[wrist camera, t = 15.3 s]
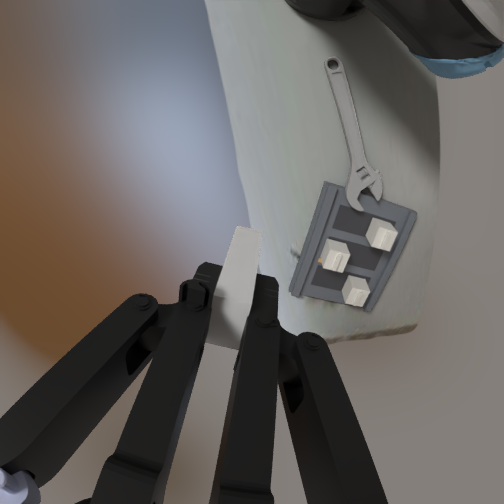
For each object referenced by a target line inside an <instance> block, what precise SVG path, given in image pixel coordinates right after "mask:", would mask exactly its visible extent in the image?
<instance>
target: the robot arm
mask: <svg viewBox="0 0 504 504" xmlns="http://www.w3.org/2000/svg"><path fill="white" fill-rule="evenodd" d="M285 1H286V2H287V3H288V4H289V5H291V6H292V7H293V8H294V9H296V10H297V11H299V12H301V13H303V14H305V15H307V16H310V17H313V18H316V19H321V20H328V21H338V20H345V19H348V18H351V17H354V16H356V15H357V14H359V13H360V12H361V11H363V10H364V8H365V7H367V8H368V9H369V10H370V11H371V12H372V13H373V14H375V15H376V16H377V17H378V18H379V19H380V20H381V21H382V22H383V23H384V24H385V25H386V26H387V27H388V28H390V29H391V30H392V31H393V32H394V33H395V34H396V35H397V36H398V37H399V39H400V40H401V41H402V42H403V43H404V44H405V45H406V46H407V47H408V49H409V51H410V52H411V53H412V54H413V55H414V56H415V57H417V58H418V59H419V60H420V61H421V62H422V63H423V64H424V65H425V66H426V67H427V68H428V69H429V70H430V71H431V72H432V73H434V74H435V75H437V76H440V77H443V78H451V79H454V78H463V77H469V76H473V75H476V74H479V73H482V72H484V71H485V69H486V68H487V67H493V66H495V65H496V64H498V63H499V62H500V61H501V60H502V58H504V0H285ZM262 234H263V231H259V230H254V229H250V228H246V227H242V226H237V228H236V230H235V233H234V236H233V239H232V242H231V245H230V248H229V251H228V254H227V256H226V260H225V262H224V265H223V266H220V265H216V264H212V263H208V262H204V263H203V264H201V265H200V266H199V267H198V269H197V271H196V274H195V275H194V277H193V279H191V280H187V281H184V282H183V283H182V284H181V285H180V290H179V302H177V303H174V304H158V302H157V300H156V298H154V297H153V296H151V295H148V294H135V295H133V296H131V297H129V298H128V299H127V300H126V301H125V302H124V303H122V304H121V305H120V306H119V307H118V308H116V309H115V310H114V311H113V312H112V313H111V314H110V315H109V316H108V317H106V318H105V319H104V320H103V321H102V322H101V323H100V324H98V325H97V326H96V327H95V328H94V329H93V330H92V331H91V332H90V333H89V334H88V335H86V336H85V337H84V338H83V339H82V340H81V341H80V342H79V343H77V344H76V345H75V346H74V347H73V348H72V349H71V350H70V351H69V352H68V353H67V354H66V355H65V356H63V357H62V358H61V359H60V360H59V361H58V362H57V363H56V364H55V365H54V366H53V367H52V368H51V369H50V370H49V371H48V372H47V373H45V375H43V376H42V377H41V378H40V379H39V380H38V381H37V382H36V383H35V384H34V385H33V386H32V387H31V388H30V389H29V390H28V391H27V392H26V393H25V394H24V395H23V396H22V397H21V398H20V399H19V400H18V401H17V402H16V403H15V404H14V405H13V406H12V407H11V408H10V409H9V410H8V411H7V412H6V413H5V414H4V415H3V416H2V418H0V504H39V503H40V502H41V496H40V491H39V489H38V488H40V487H42V486H43V485H44V484H46V483H47V482H48V481H50V480H51V479H52V478H53V477H54V476H55V475H56V474H57V473H58V472H59V471H60V470H61V468H62V467H63V466H64V465H65V463H66V462H67V461H68V459H70V457H71V456H72V455H73V454H74V452H75V451H76V450H77V449H78V447H79V446H80V445H81V444H82V443H83V441H84V440H85V439H86V438H87V437H88V435H89V434H90V433H91V432H92V430H93V429H94V428H95V427H96V426H97V424H98V423H99V422H100V421H101V420H102V418H103V417H104V416H105V415H106V413H107V412H108V411H109V410H110V409H111V407H112V406H113V405H114V404H115V403H116V401H117V400H118V399H119V398H120V397H121V395H122V394H123V393H124V392H125V391H126V389H127V388H128V387H129V386H130V385H131V383H132V382H133V381H134V380H135V379H136V377H137V376H138V375H139V374H140V373H141V371H142V370H143V369H144V368H145V367H146V365H147V364H148V363H149V362H150V361H151V359H152V358H153V359H152V362H151V364H150V367H149V369H148V371H147V374H146V376H145V378H144V380H143V383H142V385H141V388H140V390H139V392H138V395H137V397H136V400H135V402H134V405H133V407H132V410H131V412H130V414H129V417H128V420H127V422H126V424H125V427H124V430H123V432H122V435H121V437H120V440H119V442H118V445H117V448H116V450H115V452H114V454H113V455H111V456H109V457H108V458H107V460H106V461H105V464H104V466H103V468H102V471H101V474H100V476H99V479H98V481H97V484H96V487H95V490H94V493H93V495H92V498H88V499H84V500H82V501H79V502H77V503H75V504H163V501H164V495H165V489H166V484H167V480H168V477H169V473H170V469H171V466H172V462H173V458H174V454H175V451H176V447H177V443H178V439H179V436H180V432H181V429H182V425H183V421H184V418H185V414H186V411H187V407H188V403H189V400H190V396H191V393H192V389H193V386H194V382H195V378H196V375H197V372H198V368H199V365H200V361H201V358H202V354H203V350H204V344H205V342H206V343H210V344H214V345H218V346H223V347H227V348H231V349H236V350H239V352H238V355H237V358H236V362H235V366H234V374H233V380H232V385H231V390H230V396H229V402H228V406H227V412H226V417H225V423H224V428H223V433H222V439H221V444H220V449H219V455H218V460H217V465H216V470H215V476H214V481H213V486H212V492H211V497H210V501H209V504H274V497H273V495H272V493H271V489H270V486H271V485H270V484H271V474H272V461H273V448H274V433H275V419H276V402H277V385H279V389H280V392H281V397H282V401H283V405H284V410H285V413H286V418H287V422H288V426H289V430H290V434H291V438H292V442H293V446H294V451H295V455H296V459H297V463H298V467H299V471H300V475H301V479H302V483H303V487H304V491H305V495H306V499H307V503H308V504H388V502H387V499H386V496H385V493H384V490H383V487H382V484H381V482H380V479H379V476H378V473H377V471H376V468H375V465H374V462H373V459H372V457H371V454H370V451H369V449H368V446H367V443H366V441H365V438H364V436H363V433H362V430H361V428H360V425H359V422H358V420H357V417H356V415H355V412H354V410H353V407H352V405H351V402H350V399H349V397H348V394H347V392H346V390H345V387H344V384H343V382H342V379H341V377H340V374H339V372H338V369H337V367H336V365H335V362H334V360H333V357H332V355H331V352H330V350H329V347H328V345H327V343H326V341H325V340H324V339H323V338H322V337H321V336H319V335H317V334H315V333H312V332H303V333H301V334H299V335H298V336H296V335H293V334H291V333H289V332H288V331H286V330H285V329H283V328H282V327H281V325H280V322H279V320H278V318H277V317H278V292H279V284H278V282H277V280H276V279H275V278H274V277H270V276H266V275H261V274H257V267H258V261H259V254H260V248H261V241H262Z"/></svg>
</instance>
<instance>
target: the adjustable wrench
mask: <svg viewBox="0 0 504 504" xmlns="http://www.w3.org/2000/svg"><path fill="white" fill-rule="evenodd" d="M330 60H335V61H336V62H337V63H338V68H337V69H335V70H332V69H330V68H329V67H328V62H329V61H330ZM324 67H325V70H326V73H327V76H328V79H329V82H330V85H331V89H332V92H333V95H334V98H335V102H336V105H337V109H338V112H339V116H340V119H341V123H342V127H343V130H344V134H345V138H346V142H347V146H348V150H349V155H350V170H349V176H348V180H347V183H346V187H345V197H346V199H347V201H348V202H349V204H350V205H351V206H352V207H353V208H355V209H356V210H359V211H363V210H364V209H363V208H362V206H361V205H360V203H359V202H358V200H357V198H358V196H359V194H360V191H361V190H363V189H364V188H366V187H369V190H370V191H371V193H372V195H373V196H374V198H375V199H376V200H377V201H378V200H380V198H381V195H382V182H381V178H380V177H381V176H382V175H381V174H380V172H379V171H378V169H376V170H375V171H374V170H373V169H372V168H371V167H370V166H369V164H368V163H367V160H366V158H365V155H364V150H363V145H362V140H361V135H360V130H359V126H358V121H357V117H356V113H355V109H354V105H353V101H352V97H351V93H350V89H349V85H348V82H347V78H346V75H345V71H344V68H343V64H342V62H341V60H340V59H339V58H337V57H334V56H331V57H329V58H327V60H326V61H325V63H324ZM361 167H364V168H361ZM360 168H361V169H360ZM358 169H359V170H358ZM356 171H357V172H356ZM366 175H367V176H366ZM362 178H363V179H362Z"/></svg>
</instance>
